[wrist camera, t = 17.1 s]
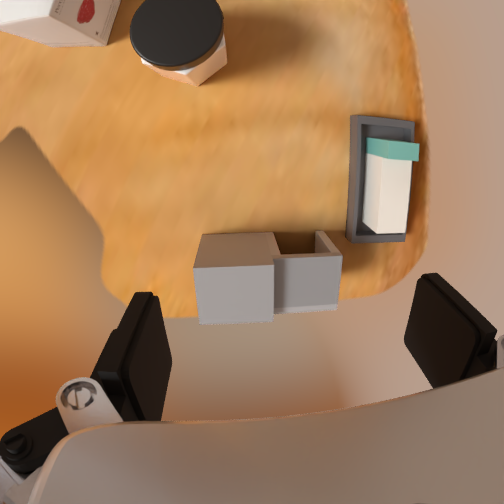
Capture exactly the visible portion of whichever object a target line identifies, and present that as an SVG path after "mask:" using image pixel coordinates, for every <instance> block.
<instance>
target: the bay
mask: <svg viewBox="0 0 504 504" xmlns="http://www.w3.org/2000/svg"><path fill="white" fill-rule="evenodd" d="M342 259H343V255H342V254H341V253H340V251H339V250H338V249H337V248H336V246H335V245H334V244H333V242H332V241H331V240H330V239H329V237H328V236H327V235H326V234H325V232H324V231H323V230H316V232H315V252H314V253H309V254H285V255H281V254H280V251H279V248H278V245H277V242H276V240H275V237H274V234H273V232H255V233H230V234H206V235H202V237H201V241H200V244H199V248H198V252H197V255H196V259H195V263H194V267H193V272H194V281H195V290H196V298H197V307H198V315H199V323H200V325H206V324H238V323H259V322H273V317H274V315H273V314H284V313H299V312H314V311H327V310H337V304H338V296H339V288H340V279H341V269H342Z"/></svg>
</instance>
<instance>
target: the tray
mask: <svg viewBox="0 0 504 504" xmlns="http://www.w3.org/2000/svg"><path fill="white" fill-rule="evenodd" d="M414 126H415V122H412V121H405V120H397V119H389V118H380V117H371V116H360V115H352V116H350V163H349V188H348V206H347V221H346V234H345V237H346V238H347V239H348V240H349V241H350V243H379V242H405V237H406V230H407V222H408V214H409V205H410V195H411V183H412V170H413V161H412V167H411V181H410V193H409V203H408V213H407V221H406V229H405V233H380V234H377V233H375V232H374V231H373V230H372V229H371V228H369V227H368V226H367V225H366V224H365V223H363V222H362V211H363V197H364V179H365V155H366V137H370V138H382V139H394V140H400V141H406V142H412V143H414Z"/></svg>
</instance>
